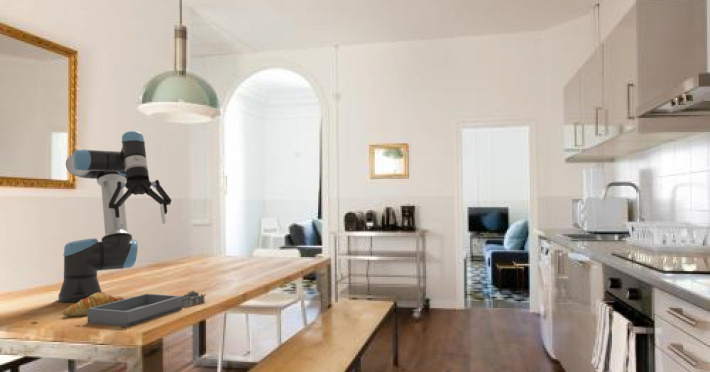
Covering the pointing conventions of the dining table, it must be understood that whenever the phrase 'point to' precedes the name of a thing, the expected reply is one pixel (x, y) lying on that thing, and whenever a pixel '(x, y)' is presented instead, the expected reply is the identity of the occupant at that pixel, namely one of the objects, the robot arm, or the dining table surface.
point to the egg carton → (192, 298)
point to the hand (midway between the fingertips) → (143, 223)
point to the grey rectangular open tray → (134, 309)
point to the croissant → (89, 304)
